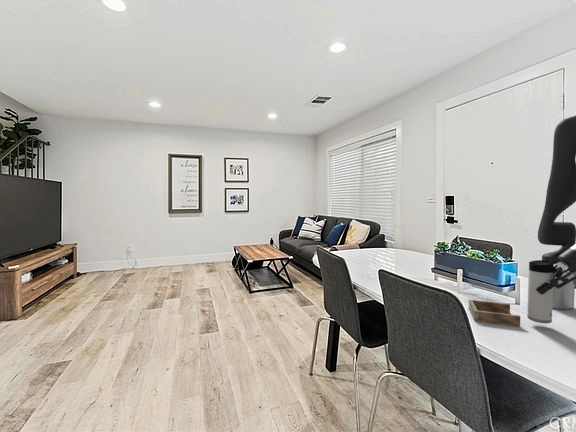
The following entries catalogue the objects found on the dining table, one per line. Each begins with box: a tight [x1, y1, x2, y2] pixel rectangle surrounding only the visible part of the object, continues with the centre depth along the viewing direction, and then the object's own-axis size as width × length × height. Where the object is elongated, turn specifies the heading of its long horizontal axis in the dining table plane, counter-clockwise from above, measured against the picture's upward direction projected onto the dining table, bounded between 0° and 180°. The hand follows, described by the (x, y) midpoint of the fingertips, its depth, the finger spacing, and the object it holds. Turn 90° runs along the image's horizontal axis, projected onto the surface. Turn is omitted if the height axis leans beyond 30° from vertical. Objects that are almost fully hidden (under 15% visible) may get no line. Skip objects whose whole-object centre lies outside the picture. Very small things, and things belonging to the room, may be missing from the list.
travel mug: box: [526, 259, 555, 324], centre depth 98 cm, size 6×7×20 cm
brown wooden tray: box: [468, 299, 521, 328], centre depth 107 cm, size 13×13×4 cm
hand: (534, 288), depth 98 cm, fingers closed on travel mug, 6 cm apart
